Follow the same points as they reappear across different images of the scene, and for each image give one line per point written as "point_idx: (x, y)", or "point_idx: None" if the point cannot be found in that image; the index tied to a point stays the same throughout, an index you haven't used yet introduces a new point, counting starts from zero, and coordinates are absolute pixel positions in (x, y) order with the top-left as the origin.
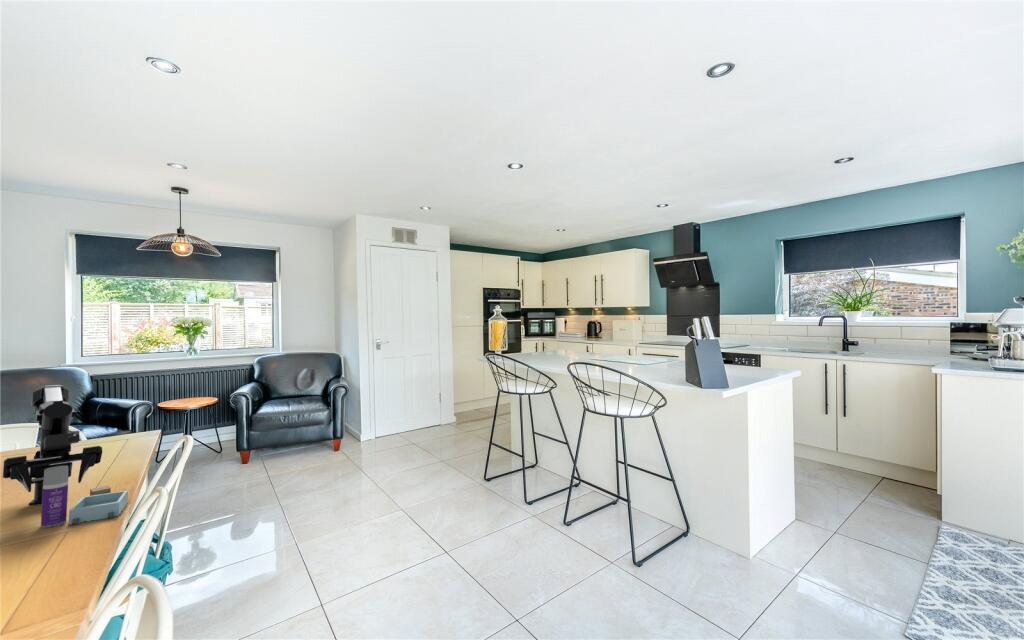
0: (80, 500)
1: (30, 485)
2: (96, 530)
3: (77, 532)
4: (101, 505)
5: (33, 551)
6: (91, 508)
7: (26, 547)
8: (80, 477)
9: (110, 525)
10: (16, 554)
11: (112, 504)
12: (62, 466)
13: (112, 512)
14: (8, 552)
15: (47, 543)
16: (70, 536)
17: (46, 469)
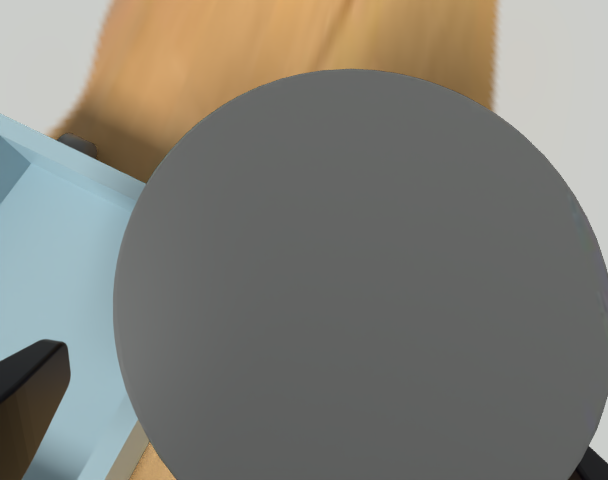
0: (95, 470)
1: (587, 472)
2: (203, 32)
3: (260, 83)
4: (83, 155)
5: (427, 7)
6: (136, 180)
7: (440, 80)
8: (12, 370)
9: (140, 44)
10: (474, 31)
11: (32, 129)
12: (222, 353)
13: (63, 139)
14: (494, 83)
15: (376, 53)
16: (295, 55)
17: (575, 335)
